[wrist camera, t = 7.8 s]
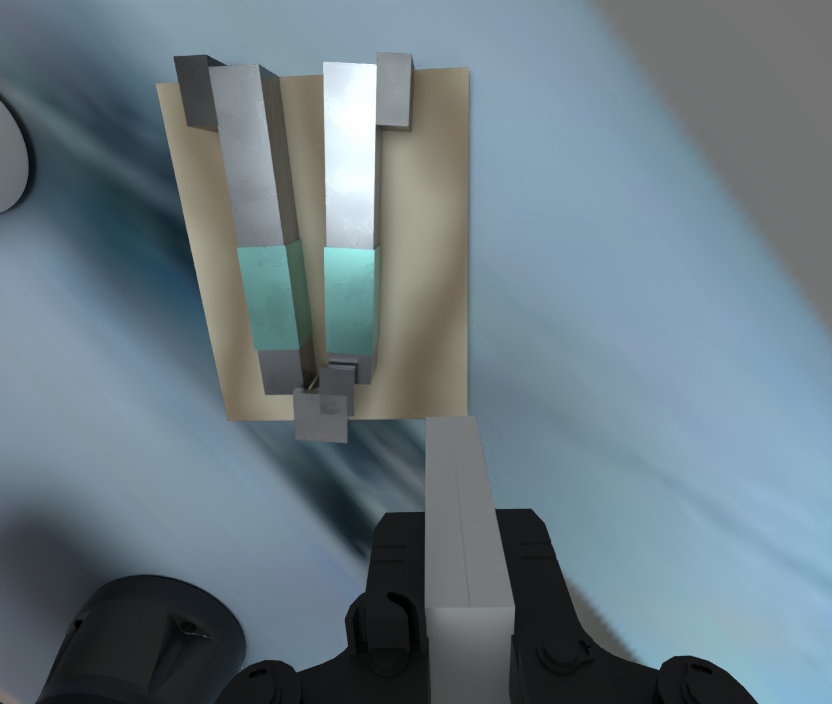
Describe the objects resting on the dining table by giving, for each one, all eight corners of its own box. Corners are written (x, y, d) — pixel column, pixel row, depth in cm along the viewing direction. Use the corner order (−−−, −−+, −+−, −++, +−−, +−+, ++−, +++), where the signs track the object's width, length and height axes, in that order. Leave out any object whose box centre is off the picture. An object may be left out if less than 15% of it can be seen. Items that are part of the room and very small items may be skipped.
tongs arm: (311, 408, 31) (295, 439, 28) (299, 62, 24) (274, 41, 20) (398, 415, 31) (393, 446, 27) (414, 68, 24) (410, 48, 20)
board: (235, 412, 33) (227, 420, 32) (168, 87, 26) (155, 83, 25) (466, 410, 32) (467, 418, 31) (467, 71, 25) (468, 67, 24)
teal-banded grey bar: (264, 406, 32) (245, 431, 29) (203, 70, 24) (169, 55, 21) (357, 405, 31) (348, 430, 28) (324, 63, 24) (308, 47, 21)
